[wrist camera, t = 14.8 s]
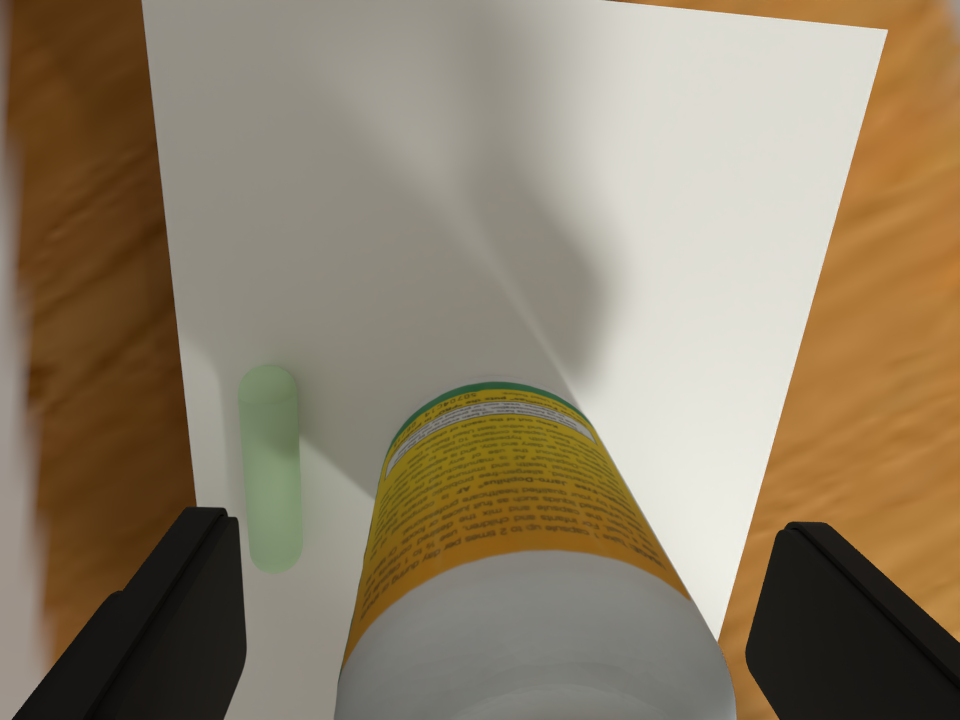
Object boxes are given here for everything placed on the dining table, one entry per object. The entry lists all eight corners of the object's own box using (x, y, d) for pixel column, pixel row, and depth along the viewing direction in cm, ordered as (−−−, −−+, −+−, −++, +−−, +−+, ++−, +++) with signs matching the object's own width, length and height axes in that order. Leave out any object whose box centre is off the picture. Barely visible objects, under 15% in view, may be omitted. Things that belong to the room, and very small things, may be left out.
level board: (668, 709, 19) (702, 793, 17) (241, 711, 18) (209, 802, 16) (837, 43, 13) (937, 17, 10) (174, -25, 11) (97, -74, 9)
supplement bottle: (633, 504, 15) (950, 1071, 6) (448, 592, 15) (464, 1239, 6) (542, 326, 13) (792, 731, 4) (337, 432, 13) (126, 1009, 4)
